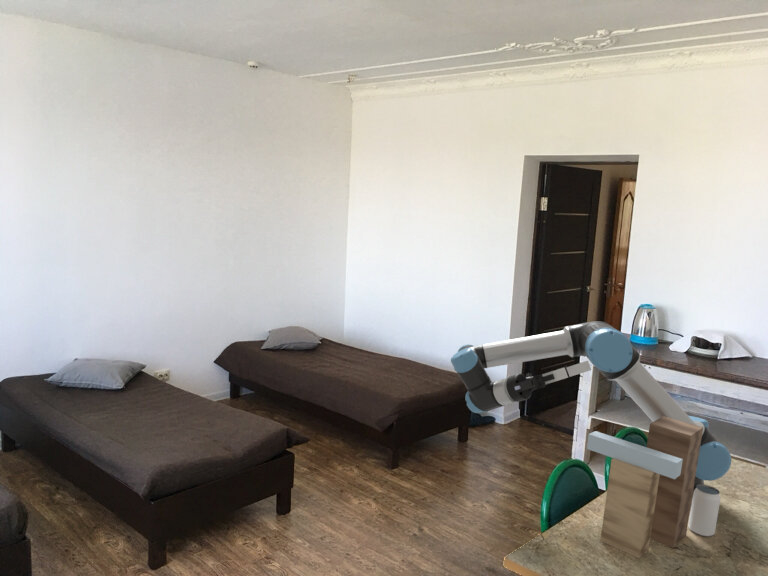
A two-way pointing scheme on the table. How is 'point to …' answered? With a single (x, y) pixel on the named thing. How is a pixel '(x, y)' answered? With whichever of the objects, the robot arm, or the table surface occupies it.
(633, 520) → the oak step
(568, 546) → the table surface
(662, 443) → the walnut block
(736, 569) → the table surface
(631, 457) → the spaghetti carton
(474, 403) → the robot arm
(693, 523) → the can
